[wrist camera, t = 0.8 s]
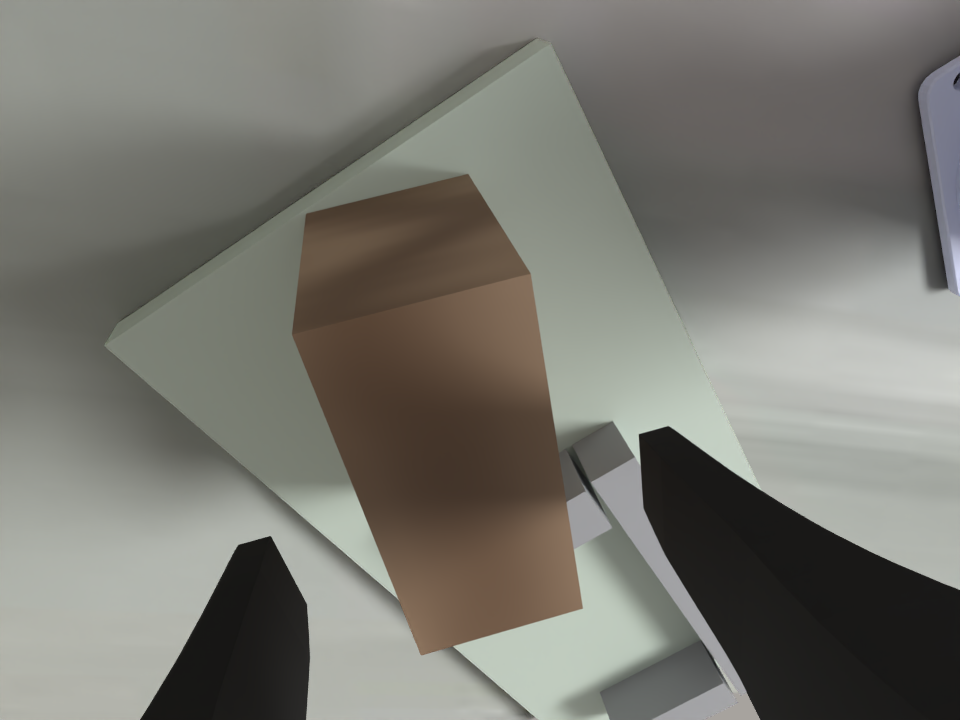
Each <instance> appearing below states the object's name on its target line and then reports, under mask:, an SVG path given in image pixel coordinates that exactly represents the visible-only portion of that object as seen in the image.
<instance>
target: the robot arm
mask: <svg viewBox="0 0 960 720" xmlns="http://www.w3.org/2000/svg"><path fill="white" fill-rule="evenodd" d="M959 73H960V56H958V57H957V58H955V59H953V60H952V61H950V62H949V63H947V64H945V65H944V66H942V67H940V68H939V69H937V70H936V71H934V72H932V73H931V74H930V75H929V76H928V77H926V79H925V80H924V82H923V83H922V84H921V87H920V89H919V92H918V101H919V108H920V114H921V120H922V126H923V133H924V139H925V145H926V151H927V158H928V164H929V170H930V176H931V183H932V189H933V195H934V201H935V208H936V214H937V220H938V226H939V233H940V239H941V245H942V251H943V258H944V264H945V270H946V276H947V283H948V288H949V290H950V291H951V292H952V293H954V294H956V295H958V296H960V76H959V79H958V81H957V83H956V84H955V85H954V86H953V83H954V80H955V78H956V76H957V75H958V74H959ZM639 449H640V464H641V479H642V495H643V509H644V511H645V513H646V515H647V518H648V520H649V522H650V524H651V526H652V529H653V531H654V533H655V535H656V537H657V539H658V541H659V544H660V546H661V548H662V550H663V552H664V554H665V556H666V558H667V559H668V561H669V563H670V564H671V566H672V567H673V569H674V571H675V572H676V574H677V576H678V577H679V579H680V581H681V582H682V584H683V585H684V587H685V589H686V590H687V592H688V594H689V595H690V597H691V598H692V600H693V602H694V603H695V605H696V606H697V608H698V610H699V611H700V613H701V615H702V616H703V618H704V619H705V621H706V623H707V624H708V626H709V627H710V629H711V631H712V632H713V634H714V635H715V637H716V639H717V640H718V642H719V644H720V645H721V647H722V648H723V650H724V652H725V653H726V655H727V657H728V658H729V660H730V662H731V664H732V665H733V667H734V669H735V671H736V672H737V674H738V676H739V678H740V680H741V682H742V684H743V686H744V688H745V690H746V692H747V694H748V696H749V698H750V700H751V702H752V704H753V706H754V708H755V710H756V712H757V714H758V716H759V718H760V720H960V590H958V589H956V588H953V587H951V586H948V585H945V584H943V583H940V582H938V581H936V580H933V579H931V578H929V577H926V576H924V575H922V574H919V573H917V572H914V571H912V570H910V569H907V568H905V567H903V566H900V565H898V564H896V563H893V562H891V561H889V560H887V559H885V558H882V557H880V556H878V555H876V554H874V553H872V552H870V551H868V550H866V549H864V548H862V547H860V546H858V545H856V544H854V543H852V542H850V541H848V540H846V539H844V538H842V537H840V536H838V535H836V534H834V533H832V532H830V531H828V530H826V529H825V528H823V527H821V526H819V525H817V524H816V523H814V522H812V521H810V520H809V519H807V518H805V517H804V516H802V515H800V514H798V513H797V512H795V511H793V510H792V509H790V508H788V507H787V506H785V505H783V504H782V503H780V502H779V501H777V500H775V499H774V498H772V497H771V496H769V495H767V494H766V493H764V492H763V491H761V490H760V489H758V488H757V487H755V486H754V485H752V484H751V483H749V482H748V481H746V480H745V479H743V478H742V477H740V476H739V475H737V474H736V473H734V472H733V471H731V470H730V469H728V468H727V467H725V466H724V465H723V464H721V463H720V462H718V461H717V460H716V459H714V458H713V457H711V456H710V455H709V454H707V453H706V452H704V451H703V450H702V449H700V448H699V447H698V446H696V445H695V444H693V443H692V442H691V441H689V440H688V439H687V438H685V437H684V436H683V435H681V434H680V433H678V432H677V431H676V430H674V429H673V428H671V427H669V426H666V427H663V428H659V429H656V430H652V431H648V432H645V433H641V434H639ZM309 663H310V650H309V630H308V614H307V604H306V602H305V600H304V598H303V596H302V594H301V592H300V590H299V589H298V587H297V585H296V583H295V581H294V579H293V577H292V575H291V573H290V572H289V570H288V568H287V566H286V564H285V562H284V560H283V558H282V556H281V555H280V553H279V551H278V549H277V547H276V545H275V543H274V541H273V539H272V538H271V536H269V537H265V538H262V539H258V540H255V541H251V542H247V543H244V544H240V545H238V547H237V548H236V550H235V551H234V553H233V555H232V557H231V559H230V561H229V563H228V565H227V567H226V569H225V571H224V573H223V575H222V577H221V578H220V580H219V582H218V584H217V586H216V588H215V590H214V592H213V594H212V596H211V598H210V600H209V602H208V604H207V606H206V607H205V609H204V611H203V613H202V615H201V617H200V619H199V621H198V622H197V624H196V626H195V628H194V630H193V631H192V633H191V635H190V637H189V639H188V641H187V642H186V644H185V646H184V648H183V650H182V651H181V653H180V655H179V657H178V658H177V660H176V662H175V664H174V665H173V667H172V669H171V670H170V672H169V674H168V675H167V677H166V679H165V680H164V682H163V684H162V685H161V687H160V688H159V690H158V692H157V693H156V695H155V697H154V698H153V700H152V702H151V703H150V705H149V707H148V708H147V710H146V711H145V713H144V714H143V716H142V718H141V719H140V720H306V711H307V696H308V681H309Z"/></svg>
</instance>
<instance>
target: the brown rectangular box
mask: <svg viewBox="0 0 960 720" xmlns="http://www.w3.org/2000/svg"><path fill="white" fill-rule="evenodd" d="M292 336H293V339H294V341H295V344H296V346H297V349H298V351H299V354H300V356H301V359H302V361H303V364H304V366H305V369H306V371H307V374H308V376H309V379H310V381H311V384H312V386H313V388H314V391H315V393H316V396H317V398H318V401H319V403H320V406H321V408H322V411H323V413H324V416H325V418H326V421H327V423H328V426H329V428H330V431H331V433H332V436H333V438H334V441H335V443H336V446H337V448H338V451H339V453H340V456H341V458H342V460H343V463H344V465H345V468H346V470H347V473H348V475H349V478H350V480H351V483H352V485H353V488H354V490H355V493H356V495H357V498H358V500H359V503H360V505H361V508H362V510H363V513H364V515H365V518H366V520H367V523H368V525H369V528H370V530H371V532H372V535H373V537H374V540H375V542H376V545H377V547H378V550H379V552H380V555H381V557H382V560H383V562H384V565H385V567H386V570H387V572H388V575H389V577H390V580H391V582H392V585H393V587H394V590H395V592H396V595H397V597H398V599H399V602H400V604H401V607H402V609H403V612H404V614H405V617H406V619H407V622H408V624H409V627H410V629H411V632H412V634H413V637H414V639H415V642H416V644H417V647H418V649H419V652H420V654H421V655H424V654H428V653H431V652H435V651H438V650H442V649H445V648H449V647H452V646H455V645H459V644H462V643H466V642H469V641H473V640H476V639H480V638H483V637H487V636H490V635H494V634H497V633H500V632H504V631H507V630H511V629H514V628H518V627H521V626H525V625H528V624H532V623H535V622H539V621H542V620H545V619H549V618H552V617H556V616H559V615H563V614H566V613H570V612H573V611H577V610H580V609H583V605H582V598H581V592H580V586H579V579H578V573H577V567H576V560H575V554H574V547H573V541H572V535H571V528H570V522H569V515H568V509H567V503H566V496H565V490H564V483H563V477H562V471H561V464H560V458H559V451H558V445H557V439H556V432H555V426H554V419H553V413H552V407H551V400H550V394H549V387H548V381H547V375H546V368H545V362H544V355H543V349H542V343H541V336H540V330H539V323H538V317H537V311H536V304H535V298H534V291H533V285H532V279H531V273H530V272H529V270H528V268H527V267H526V265H525V264H524V262H523V260H522V259H521V257H520V256H519V254H518V252H517V251H516V249H515V248H514V246H513V245H512V243H511V241H510V240H509V238H508V237H507V235H506V233H505V232H504V230H503V229H502V227H501V225H500V224H499V222H498V221H497V219H496V217H495V216H494V214H493V213H492V211H491V209H490V208H489V206H488V205H487V203H486V201H485V200H484V198H483V197H482V195H481V193H480V192H479V190H478V189H477V187H476V185H475V184H474V182H473V181H472V179H471V178H470V176H469V174H466V175H462V176H458V177H454V178H450V179H446V180H441V181H437V182H433V183H429V184H425V185H421V186H417V187H413V188H409V189H405V190H401V191H396V192H392V193H388V194H384V195H380V196H376V197H372V198H368V199H364V200H360V201H356V202H352V203H347V204H343V205H339V206H335V207H331V208H327V209H323V210H319V211H315V212H311V213H307V214H306V218H305V226H304V235H303V243H302V252H301V260H300V269H299V277H298V286H297V294H296V303H295V312H294V320H293V329H292Z"/></svg>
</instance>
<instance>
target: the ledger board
mask: <svg viewBox="0 0 960 720" xmlns="http://www.w3.org/2000/svg"><path fill="white" fill-rule="evenodd" d="M466 174H469V176H470V178H471V179H472V181H473V182H474V184H475V185H476V187H477V189H478V190H479V192H480V193H481V195H482V197H483V198H484V200H485V201H486V203H487V205H488V206H489V208H490V209H491V211H492V213H493V214H494V216H495V217H496V219H497V221H498V222H499V224H500V225H501V227H502V229H503V230H504V232H505V233H506V235H507V237H508V238H509V240H510V241H511V243H512V245H513V246H514V248H515V249H516V251H517V252H518V254H519V256H520V257H521V259H522V260H523V262H524V264H525V265H526V267H527V268H528V270H529V272H530V273H531V279H532V285H533V291H534V298H535V304H536V311H537V317H538V323H539V330H540V336H541V343H542V349H543V355H544V362H545V368H546V375H547V381H548V387H549V394H550V400H551V407H552V413H553V419H554V426H555V432H556V439H557V445H558V451H559V458H560V464H561V471H562V477H563V483H564V490H565V496H566V503H567V509H568V515H569V522H570V528H571V535H572V541H573V547H574V554H575V560H576V567H577V573H578V579H579V586H580V592H581V598H582V605H583V609H580V610H577V611H573V612H570V613H566V614H563V615H559V616H556V617H552V618H549V619H545V620H542V621H539V622H535V623H532V624H528V625H525V626H521V627H518V628H514V629H511V630H507V631H504V632H500V633H497V634H494V635H490V636H487V637H483V638H480V639H476V640H473V641H469V642H466V643H462V644H459V645H455V646H453V647H454V648H455V649H457V650H458V651H459V652H460V653H461V654H462V655H463V656H465V657H466V658H467V659H468V660H469V661H470V662H472V663H473V664H474V665H475V666H476V667H477V668H479V669H480V670H481V671H482V672H483V673H484V674H486V675H487V676H488V677H489V678H490V679H491V680H493V681H494V682H495V683H496V684H497V685H498V686H500V687H501V688H502V689H503V690H504V691H505V692H506V693H508V694H509V695H510V696H511V697H512V698H513V699H515V700H516V701H517V702H518V703H519V704H520V705H522V706H523V707H524V708H525V709H526V710H527V711H529V712H530V713H531V714H532V715H533V716H534V717H536V718H537V719H538V720H705V719H707V718H709V717H711V716H713V715H715V714H717V713H719V712H721V711H723V710H725V709H727V708H729V707H731V706H733V705H735V704H737V703H738V702H737V700H736V698H735V697H734V695H733V693H732V691H731V689H730V687H729V686H728V684H727V682H726V680H725V678H724V676H723V674H722V673H721V671H720V669H719V668H720V667H721V668H722V670H723V671H724V673H725V674H726V675H727V677H728V678H729V680H730V681H731V683H732V684H733V685H734V687H735V688H736V690H737V691H738V693H739V694H740V695H743V694H745V693H747V692H746V690H745V688H744V686H743V684H742V682H741V680H740V678H739V676H738V674H737V672H736V671H735V669H734V667H733V665H732V664H731V662H730V660H729V658H728V657H727V655H726V653H725V652H724V650H723V648H722V647H721V645H720V644H719V642H718V640H717V639H716V637H715V635H714V634H713V632H712V631H711V629H710V627H709V626H708V624H707V623H706V621H705V619H704V618H703V616H702V615H701V613H700V611H699V610H698V608H697V606H696V605H695V603H694V602H693V600H692V598H691V597H690V595H689V594H688V592H687V590H686V589H685V587H684V585H683V584H682V582H681V581H680V579H679V577H678V576H677V574H676V572H675V571H674V569H673V567H672V566H671V564H670V563H669V561H668V559H667V558H666V556H665V554H664V552H663V550H662V548H661V546H660V544H659V541H658V539H657V537H656V535H655V533H654V531H653V529H652V526H651V524H650V522H649V520H648V518H647V515H646V513H645V511H644V509H643V495H642V479H641V464H640V449H639V434H641V433H645V432H648V431H652V430H656V429H659V428H663V427H666V426H669V427H671V428H673V429H674V430H676V431H677V432H678V433H680V434H681V435H683V436H684V437H685V438H687V439H688V440H689V441H691V442H692V443H693V444H695V445H696V446H698V447H699V448H700V449H702V450H703V451H704V452H706V453H707V454H709V455H710V456H711V457H713V458H714V459H716V460H717V461H718V462H720V463H721V464H723V465H724V466H725V467H727V468H728V469H730V470H731V471H733V472H734V473H736V474H737V475H739V476H740V477H742V478H743V479H745V480H746V481H748V482H749V483H751V484H752V485H754V486H755V487H757V488H758V489H760V486H759V484H758V482H757V480H756V478H755V476H754V474H753V472H752V469H751V467H750V465H749V463H748V461H747V459H746V457H745V455H744V452H743V450H742V448H741V446H740V444H739V442H738V440H737V438H736V435H735V433H734V431H733V429H732V427H731V425H730V423H729V421H728V418H727V416H726V414H725V412H724V410H723V408H722V406H721V403H720V401H719V399H718V397H717V395H716V393H715V391H714V389H713V386H712V384H711V382H710V380H709V378H708V376H707V374H706V372H705V369H704V367H703V365H702V363H701V361H700V359H699V357H698V355H697V352H696V350H695V348H694V346H693V344H692V342H691V340H690V338H689V335H688V333H687V331H686V329H685V327H684V325H683V323H682V321H681V318H680V316H679V314H678V312H677V310H676V308H675V306H674V304H673V301H672V299H671V297H670V295H669V293H668V291H667V289H666V287H665V284H664V282H663V280H662V278H661V276H660V274H659V272H658V269H657V267H656V265H655V263H654V261H653V259H652V257H651V255H650V252H649V250H648V248H647V246H646V244H645V242H644V240H643V238H642V235H641V233H640V231H639V229H638V227H637V225H636V223H635V221H634V218H633V216H632V214H631V212H630V210H629V208H628V206H627V204H626V201H625V199H624V197H623V195H622V193H621V191H620V189H619V187H618V184H617V182H616V180H615V178H614V176H613V174H612V172H611V170H610V167H609V165H608V163H607V161H606V159H605V157H604V155H603V152H602V150H601V148H600V146H599V144H598V142H597V140H596V138H595V135H594V133H593V131H592V129H591V127H590V125H589V123H588V121H587V118H586V116H585V114H584V112H583V110H582V108H581V106H580V104H579V101H578V99H577V97H576V95H575V93H574V91H573V89H572V87H571V84H570V82H569V80H568V78H567V76H566V74H565V72H564V70H563V67H562V65H561V63H560V61H559V59H558V57H557V55H556V53H555V50H554V48H553V46H552V44H551V43H549V42H547V41H544V40H541V39H539V38H536V39H535V40H533V41H532V42H530V43H529V44H527V45H526V46H524V47H523V48H522V49H520V50H519V51H517V52H516V53H514V54H513V55H511V56H510V57H508V58H507V59H505V60H504V61H502V62H501V63H499V64H498V65H497V66H495V67H494V68H492V69H491V70H489V71H488V72H486V73H485V74H483V75H482V76H480V77H479V78H477V79H476V80H474V81H473V82H472V83H470V84H469V85H467V86H466V87H464V88H463V89H461V90H460V91H458V92H457V93H455V94H454V95H452V96H451V97H450V98H448V99H447V100H445V101H444V102H442V103H441V104H439V105H438V106H436V107H435V108H433V109H432V110H430V111H429V112H427V113H426V114H425V115H423V116H422V117H420V118H419V119H417V120H416V121H414V122H413V123H411V124H410V125H408V126H407V127H405V128H404V129H402V130H401V131H400V132H398V133H397V134H395V135H394V136H392V137H391V138H389V139H388V140H386V141H385V142H383V143H382V144H380V145H379V146H378V147H376V148H375V149H373V150H372V151H370V152H369V153H367V154H366V155H364V156H363V157H361V158H360V159H358V160H357V161H355V162H354V163H353V164H351V165H350V166H348V167H347V168H345V169H344V170H342V171H341V172H339V173H338V174H336V175H335V176H333V177H332V178H330V179H329V180H328V181H326V182H325V183H323V184H322V185H320V186H319V187H317V188H316V189H314V190H313V191H311V192H310V193H308V194H307V195H306V196H304V197H303V198H301V199H300V200H298V201H297V202H295V203H294V204H292V205H291V206H289V207H288V208H286V209H285V210H283V211H282V212H281V213H279V214H278V215H276V216H275V217H273V218H272V219H270V220H269V221H267V222H266V223H264V224H263V225H261V226H260V227H258V228H257V229H256V230H254V231H253V232H251V233H250V234H248V235H247V236H245V237H244V238H242V239H241V240H239V241H238V242H236V243H235V244H234V245H232V246H231V247H229V248H228V249H226V250H225V251H223V252H222V253H220V254H219V255H217V256H216V257H214V258H213V259H211V260H210V261H209V262H207V263H206V264H204V265H203V266H201V267H200V268H198V269H197V270H195V271H194V272H192V273H191V274H189V275H188V276H186V277H185V278H184V279H182V280H181V281H179V282H178V283H176V284H175V285H173V286H172V287H170V288H169V289H167V290H166V291H164V292H163V293H162V294H160V295H159V296H157V297H156V298H154V299H153V300H151V301H150V302H148V303H147V304H145V305H144V306H142V307H141V308H139V309H138V310H137V311H135V312H134V313H132V314H131V315H129V316H128V317H126V318H125V319H123V320H122V321H120V322H119V323H117V325H116V327H115V328H114V330H113V332H112V333H111V335H110V337H109V338H108V340H107V342H106V343H105V345H104V346H105V347H106V348H107V349H108V350H109V351H110V352H111V353H113V354H114V355H115V356H116V357H117V358H118V359H120V360H121V361H122V362H123V363H124V364H125V365H127V366H128V367H129V368H130V369H131V370H132V371H134V372H135V373H136V374H137V375H138V376H139V377H141V378H142V379H143V380H144V381H145V382H146V383H148V384H149V385H150V386H151V387H152V388H153V389H154V390H156V391H157V392H158V393H159V394H160V395H161V396H163V397H164V398H165V399H166V400H167V401H168V402H170V403H171V404H172V405H173V406H174V407H175V408H177V409H178V410H179V411H180V412H181V413H182V414H184V415H185V416H186V417H187V418H188V419H189V420H190V421H192V422H193V423H194V424H195V425H196V426H197V427H199V428H200V429H201V430H202V431H203V432H204V433H206V434H207V435H208V436H209V437H210V438H211V439H213V440H214V441H215V442H216V443H217V444H218V445H220V446H221V447H222V448H223V449H224V450H225V451H226V452H228V453H229V454H230V455H231V456H232V457H233V458H235V459H236V460H237V461H238V462H239V463H240V464H242V465H243V466H244V467H245V468H246V469H247V470H249V471H250V472H251V473H252V474H253V475H254V476H256V477H257V478H258V479H259V480H260V481H261V482H263V483H264V484H265V485H266V486H267V487H268V488H269V489H271V490H272V491H273V492H274V493H275V494H276V495H278V496H279V497H280V498H281V499H282V500H283V501H285V502H286V503H287V504H288V505H289V506H290V507H292V508H293V509H294V510H295V511H296V512H297V513H299V514H300V515H301V516H302V517H303V518H304V519H305V520H307V521H308V522H309V523H310V524H311V525H312V526H314V527H315V528H316V529H317V530H318V531H319V532H321V533H322V534H323V535H324V536H325V537H326V538H328V539H329V540H330V541H331V542H332V543H333V544H335V545H336V546H337V547H338V548H339V549H340V550H342V551H343V552H344V553H345V554H346V555H347V556H348V557H350V558H351V559H352V560H353V561H354V562H355V563H357V564H358V565H359V566H360V567H361V568H362V569H364V570H365V571H366V572H367V573H368V574H369V575H371V576H372V577H373V578H374V579H375V580H376V581H378V582H379V583H380V584H381V585H382V586H383V587H384V588H386V589H387V590H388V591H389V592H390V593H391V594H393V595H394V596H395V597H396V598H397V599H398V597H397V595H396V592H395V590H394V587H393V585H392V582H391V580H390V577H389V575H388V572H387V570H386V567H385V565H384V562H383V560H382V557H381V555H380V552H379V550H378V547H377V545H376V542H375V540H374V537H373V535H372V532H371V530H370V528H369V525H368V523H367V520H366V518H365V515H364V513H363V510H362V508H361V505H360V503H359V500H358V498H357V495H356V493H355V490H354V488H353V485H352V483H351V480H350V478H349V475H348V473H347V470H346V468H345V465H344V463H343V460H342V458H341V456H340V453H339V451H338V448H337V446H336V443H335V441H334V438H333V436H332V433H331V431H330V428H329V426H328V423H327V421H326V418H325V416H324V413H323V411H322V408H321V406H320V403H319V401H318V398H317V396H316V393H315V391H314V388H313V386H312V384H311V381H310V379H309V376H308V374H307V371H306V369H305V366H304V364H303V361H302V359H301V356H300V354H299V351H298V349H297V346H296V344H295V341H294V339H293V336H292V329H293V320H294V312H295V303H296V294H297V286H298V277H299V269H300V260H301V252H302V243H303V235H304V226H305V218H306V214H307V213H311V212H315V211H319V210H323V209H327V208H331V207H335V206H339V205H343V204H347V203H352V202H356V201H360V200H364V199H368V198H372V197H376V196H380V195H384V194H388V193H392V192H396V191H401V190H405V189H409V188H413V187H417V186H421V185H425V184H429V183H433V182H437V181H441V180H446V179H450V178H454V177H458V176H462V175H466ZM760 490H761V489H760ZM398 600H399V599H398Z"/></svg>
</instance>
